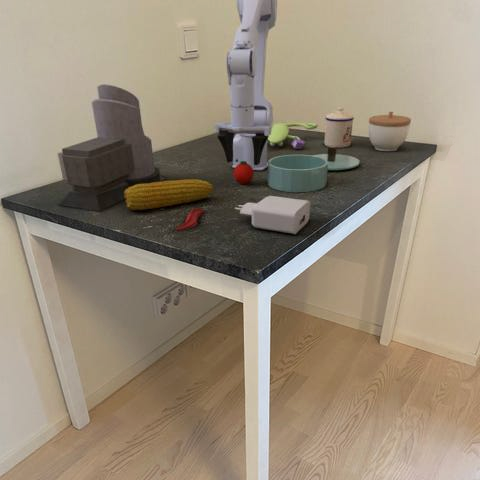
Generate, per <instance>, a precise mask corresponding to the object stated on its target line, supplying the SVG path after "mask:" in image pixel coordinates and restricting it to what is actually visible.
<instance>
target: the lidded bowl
mask: <svg viewBox="0 0 480 480" xmlns="http://www.w3.org/2000/svg"><path fill="white" fill-rule="evenodd" d="M411 122H412V119H411V117H408V116H404V115H397V114H396V115H395V114H394V111H388V114H379V115H373V116H370V117H369V119H368V139H369V141H370V143H371V145H372V146H373V147H374V150H376V151H381V152H394V151H397V150H398V149H399V148H400V147H401V146H402V145H403V144H404V142H405V141H406V140H407V137H408V135H409V132H410V125H411Z"/></svg>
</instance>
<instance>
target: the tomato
mask: <svg viewBox="0 0 480 480" xmlns="http://www.w3.org/2000/svg"><path fill="white" fill-rule="evenodd" d="M254 174H255V173H254V170H253V169H252V167H251V166H250V165H249V164H247V162H246V161H241V162H240V164H238V165H237V166H236V167H235V168H233V178H234V179H235V181H236V182H237V183H238V184H242V185H246V184H248V183H250V182H251V181H252V180H253V178H254Z"/></svg>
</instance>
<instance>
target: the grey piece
mask: <svg viewBox="0 0 480 480" xmlns="http://www.w3.org/2000/svg"><path fill="white" fill-rule="evenodd" d="M96 89H97V95H98V98H95V99H93V100H92V102H91V107H92V112H93V118H94V124H95V130H96V131H95V132H96V137H94V138H91V139H89V140H86V141H82V142H78V143H76V144H73V145H70V146H67V147H66V146H65V147H64V148H61V151H60V152H57V157H58V162H59V167H60V171H61V176H62V180H64V181H67V185H70V186H72V187H71V189H72V190H70V191H68V193H67V195H66V196H65V197H64V198H63V200H62V201H61V202H60V204H59V205H60V206H64V207H68V208H76V209H83V210H88V211H89V210H90V211H95V212H101V211H103V210H105V209H107V208H109V207H111V206H113V205H115V204H117V203H119V202H120V201H123V200H126V198H125V197H124V196H125V195H124V191H125V190H126V189H128V188H129V187H131V186H134V185H137V184H147V183H148V184H150V183H154V182H161V181H162V182H163V181H166V178H165V177H163V176H161V172H160V169H159V168H158V167H156V166H155V161H154V153H153V144H152V139H151V138H150V136H147V135H145V131H144V128H143V123H142V114H141V105H140V100H139V98H138V97H137V96H136V95H135V94H133V93H132V92H130V91H129V90H127V89H124V88H122V87H119V86H116V85H113V84H104V83H103V84H100V85H98V86H97V87H96Z"/></svg>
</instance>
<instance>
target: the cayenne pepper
mask: <svg viewBox="0 0 480 480" xmlns="http://www.w3.org/2000/svg"><path fill="white" fill-rule="evenodd" d="M204 212H205V210H203V209H200V208H192V209H191V210H190V212H189V213H188V214H187V215H186V219H185V222H184V223H182V224H180V225H179V226H177V227H176V228H175V229H174V230H175V231H181V230H182V231H183V230H187V229H190V228H193V227H196V226H197V225H198V218H199V217H200V216H201V215H202V214H203V213H204Z"/></svg>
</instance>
